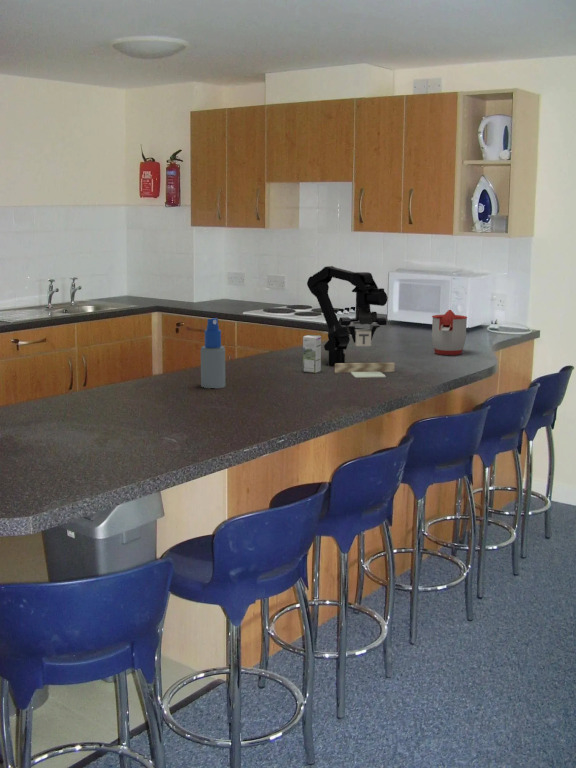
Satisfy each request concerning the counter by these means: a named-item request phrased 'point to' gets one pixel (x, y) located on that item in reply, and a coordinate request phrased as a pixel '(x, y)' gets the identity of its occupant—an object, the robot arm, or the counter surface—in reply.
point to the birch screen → (364, 367)
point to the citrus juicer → (449, 333)
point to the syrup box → (311, 353)
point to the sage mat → (367, 374)
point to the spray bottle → (212, 357)
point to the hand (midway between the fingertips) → (362, 342)
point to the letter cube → (362, 337)
